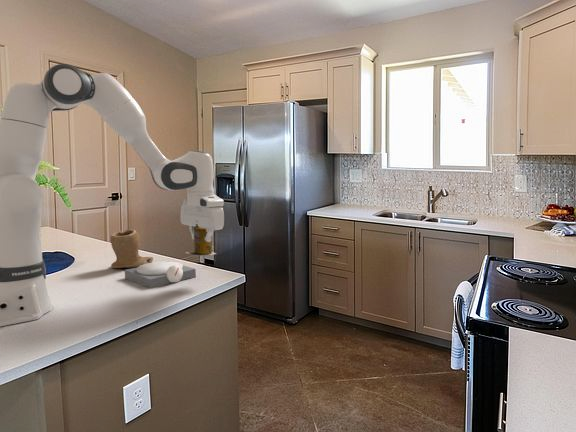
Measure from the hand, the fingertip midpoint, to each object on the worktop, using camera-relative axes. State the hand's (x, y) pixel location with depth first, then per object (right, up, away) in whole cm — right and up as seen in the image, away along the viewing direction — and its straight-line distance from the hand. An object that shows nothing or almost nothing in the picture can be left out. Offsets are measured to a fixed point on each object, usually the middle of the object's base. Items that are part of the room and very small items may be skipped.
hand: (201, 240), depth 149 cm
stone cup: (-33, -12, +25) cm, 43 cm away
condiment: (0, -5, +1) cm, 5 cm away
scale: (-17, -14, +10) cm, 24 cm away
